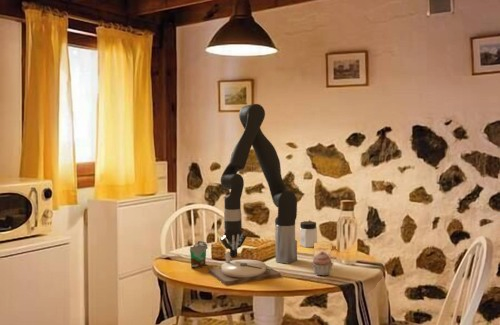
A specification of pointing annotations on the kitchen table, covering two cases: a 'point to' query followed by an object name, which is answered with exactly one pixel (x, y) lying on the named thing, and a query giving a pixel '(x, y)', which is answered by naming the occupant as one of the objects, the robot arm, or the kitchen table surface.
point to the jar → (308, 234)
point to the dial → (243, 267)
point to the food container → (198, 255)
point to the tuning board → (234, 280)
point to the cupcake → (322, 264)
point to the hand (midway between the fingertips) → (233, 257)
